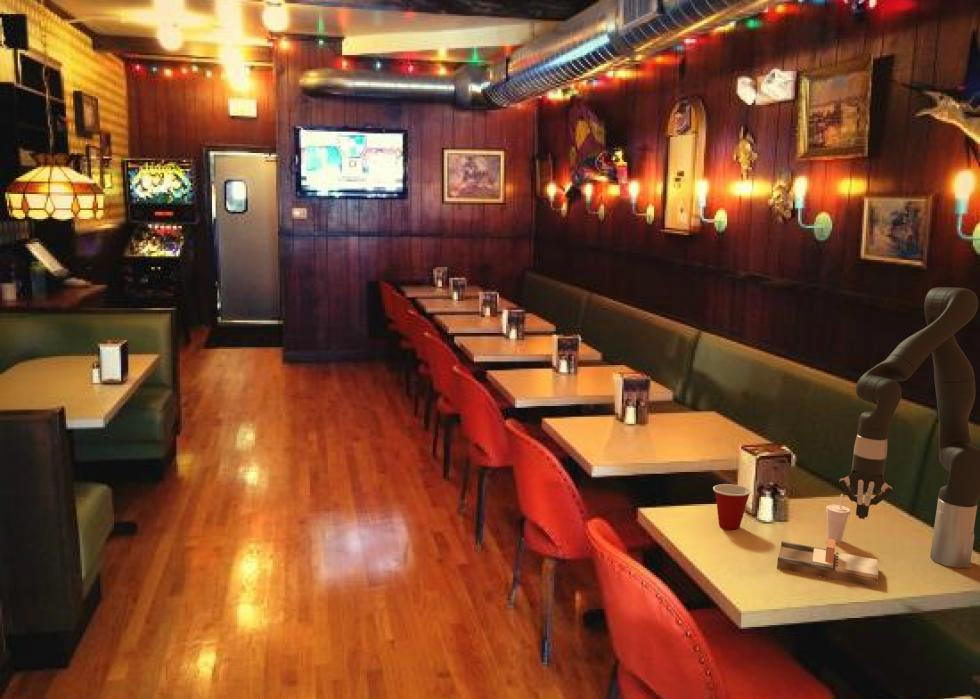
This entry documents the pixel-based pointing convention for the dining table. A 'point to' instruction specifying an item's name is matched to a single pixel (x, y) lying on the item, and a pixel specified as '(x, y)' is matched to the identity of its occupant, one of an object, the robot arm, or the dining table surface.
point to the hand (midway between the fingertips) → (861, 517)
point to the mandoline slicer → (842, 569)
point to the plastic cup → (731, 504)
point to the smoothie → (837, 520)
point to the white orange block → (825, 554)
